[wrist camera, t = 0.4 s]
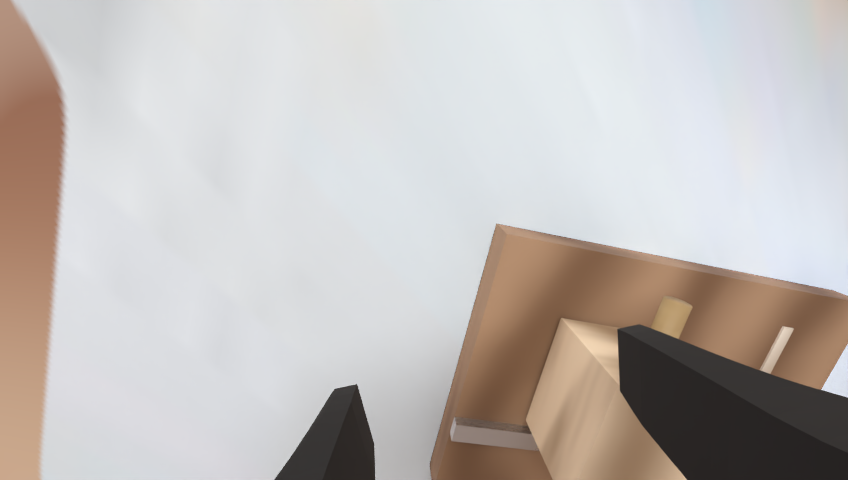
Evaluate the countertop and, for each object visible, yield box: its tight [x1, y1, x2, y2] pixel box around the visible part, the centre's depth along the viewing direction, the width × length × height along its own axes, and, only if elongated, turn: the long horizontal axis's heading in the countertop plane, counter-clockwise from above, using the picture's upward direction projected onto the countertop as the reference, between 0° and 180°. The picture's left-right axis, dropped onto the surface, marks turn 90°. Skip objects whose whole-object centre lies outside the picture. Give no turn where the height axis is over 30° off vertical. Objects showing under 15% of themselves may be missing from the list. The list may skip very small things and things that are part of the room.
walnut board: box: [430, 224, 848, 480], centre depth 22 cm, size 20×15×2 cm
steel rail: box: [450, 417, 539, 451], centre depth 22 cm, size 20×1×1 cm, turn 77°
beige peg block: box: [526, 296, 693, 480], centre depth 17 cm, size 5×9×5 cm, turn 167°
